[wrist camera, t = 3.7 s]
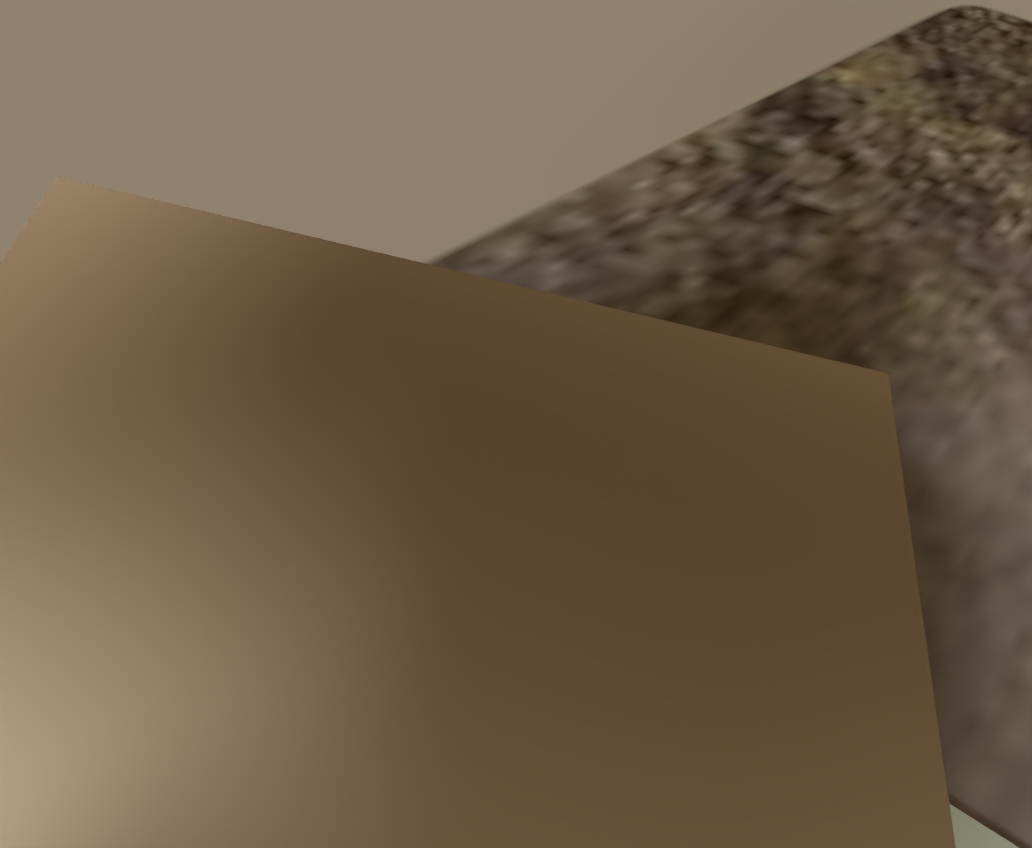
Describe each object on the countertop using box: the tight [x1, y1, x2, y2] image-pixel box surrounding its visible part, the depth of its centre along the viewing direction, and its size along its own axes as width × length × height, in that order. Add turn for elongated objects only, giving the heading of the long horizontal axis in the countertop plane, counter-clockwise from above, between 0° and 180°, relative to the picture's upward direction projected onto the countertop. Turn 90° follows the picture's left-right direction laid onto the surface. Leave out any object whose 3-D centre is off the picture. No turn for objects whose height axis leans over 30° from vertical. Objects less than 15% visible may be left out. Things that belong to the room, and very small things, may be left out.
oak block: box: [0, 177, 956, 848], centre depth 8 cm, size 5×5×11 cm
